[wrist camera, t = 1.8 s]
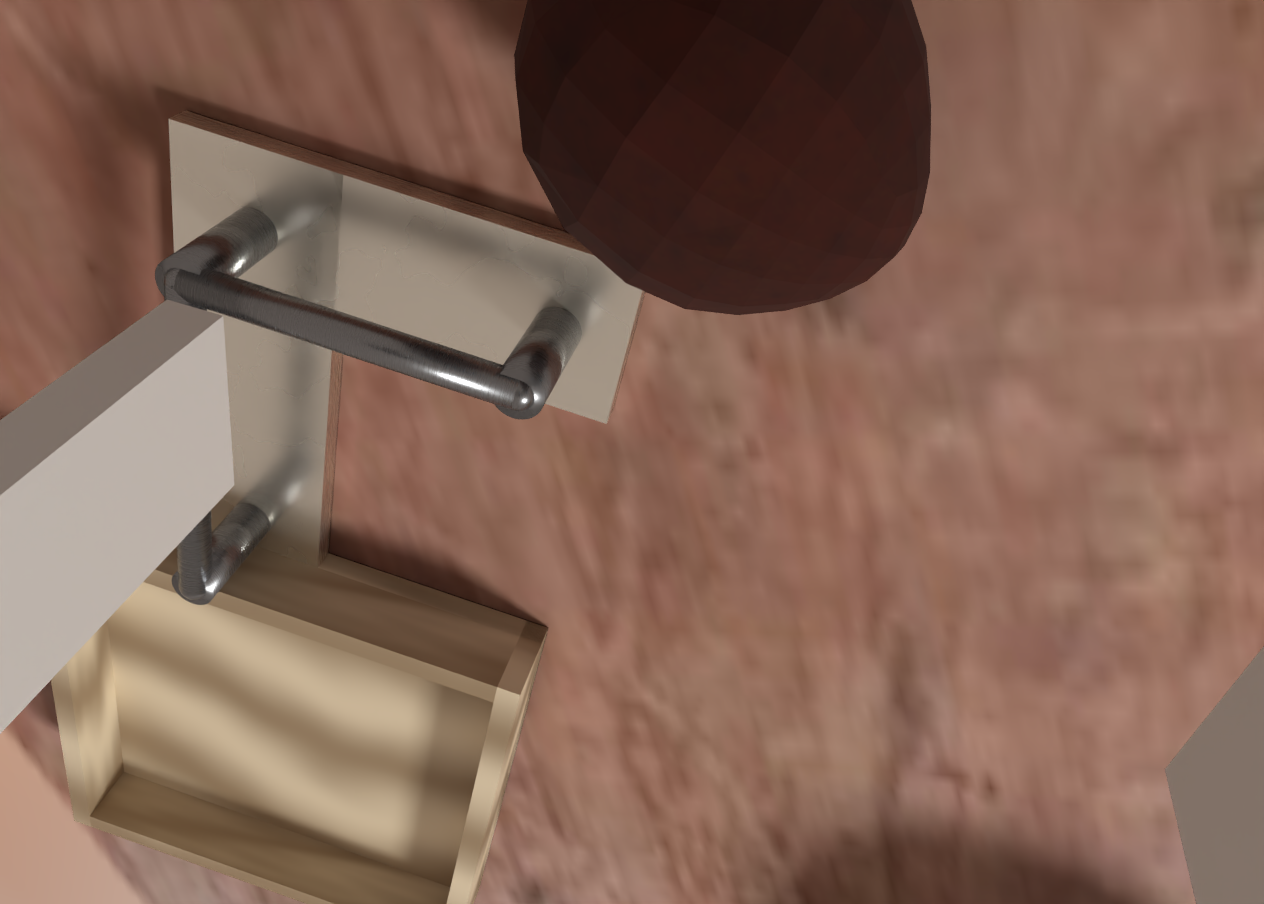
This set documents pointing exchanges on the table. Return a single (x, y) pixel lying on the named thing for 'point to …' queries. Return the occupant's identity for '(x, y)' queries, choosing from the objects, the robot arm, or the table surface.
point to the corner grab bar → (363, 319)
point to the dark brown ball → (729, 141)
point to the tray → (302, 729)
